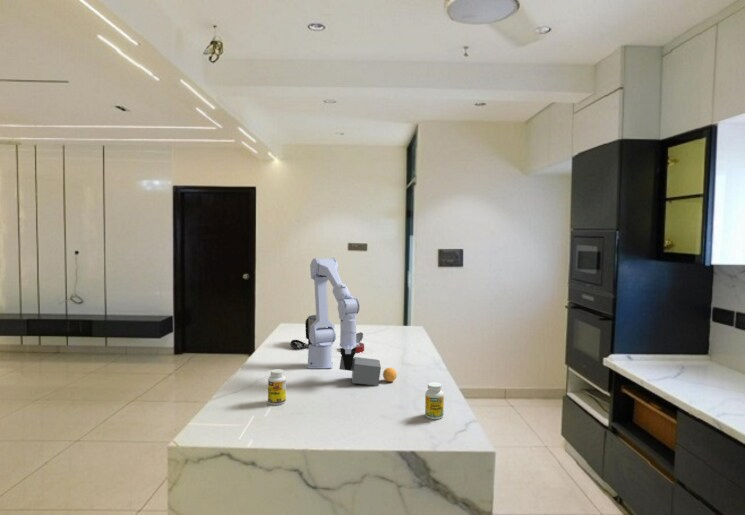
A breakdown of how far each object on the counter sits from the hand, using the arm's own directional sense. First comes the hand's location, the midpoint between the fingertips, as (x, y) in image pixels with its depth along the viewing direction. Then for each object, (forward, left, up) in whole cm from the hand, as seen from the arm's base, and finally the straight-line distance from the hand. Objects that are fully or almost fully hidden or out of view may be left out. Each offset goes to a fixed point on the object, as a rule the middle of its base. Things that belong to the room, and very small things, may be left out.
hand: (347, 368), depth 162 cm
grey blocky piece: (+4, 0, -4) cm, 5 cm away
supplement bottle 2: (+26, -32, -5) cm, 41 cm away
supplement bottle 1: (-22, -20, -5) cm, 30 cm away
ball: (+15, 0, -2) cm, 16 cm away
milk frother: (-19, +51, -5) cm, 54 cm away
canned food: (+3, +45, -5) cm, 45 cm away
